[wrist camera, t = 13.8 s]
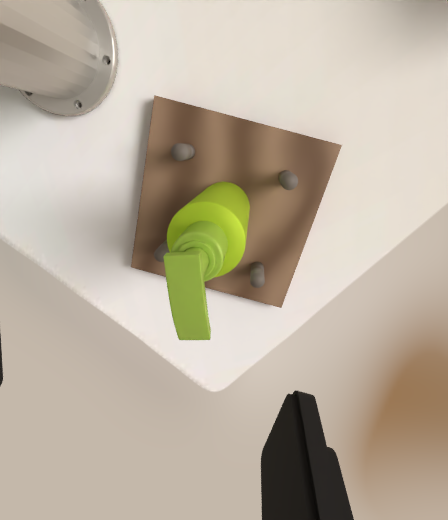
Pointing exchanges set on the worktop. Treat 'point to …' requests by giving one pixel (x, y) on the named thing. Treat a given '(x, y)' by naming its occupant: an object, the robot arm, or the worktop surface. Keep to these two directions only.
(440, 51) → the worktop surface
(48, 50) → the robot arm
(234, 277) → the peg stand
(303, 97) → the worktop surface
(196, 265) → the soap dispenser
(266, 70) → the worktop surface
